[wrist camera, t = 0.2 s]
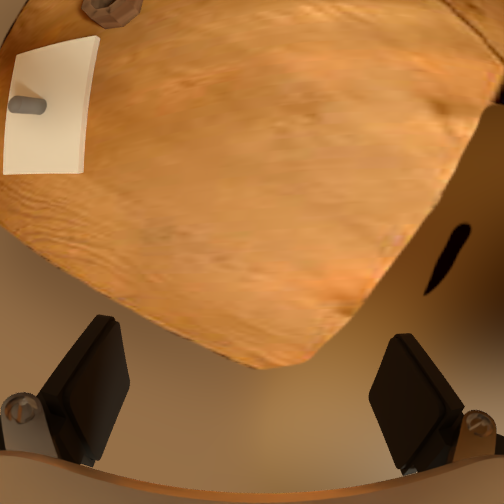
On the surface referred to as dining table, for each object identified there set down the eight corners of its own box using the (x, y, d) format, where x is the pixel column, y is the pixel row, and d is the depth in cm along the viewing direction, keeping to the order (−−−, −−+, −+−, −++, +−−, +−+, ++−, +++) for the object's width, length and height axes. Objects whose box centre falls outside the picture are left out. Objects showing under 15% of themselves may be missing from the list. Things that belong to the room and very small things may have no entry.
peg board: (21, 56, 30) (-12, 47, 21) (100, 38, 30) (70, 19, 22) (8, 173, 36) (-27, 181, 28) (83, 172, 37) (48, 180, 29)
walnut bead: (104, -7, 28) (90, -20, 23) (146, -13, 28) (136, -29, 23) (93, 31, 30) (77, 20, 25) (136, 25, 30) (123, 12, 26)
